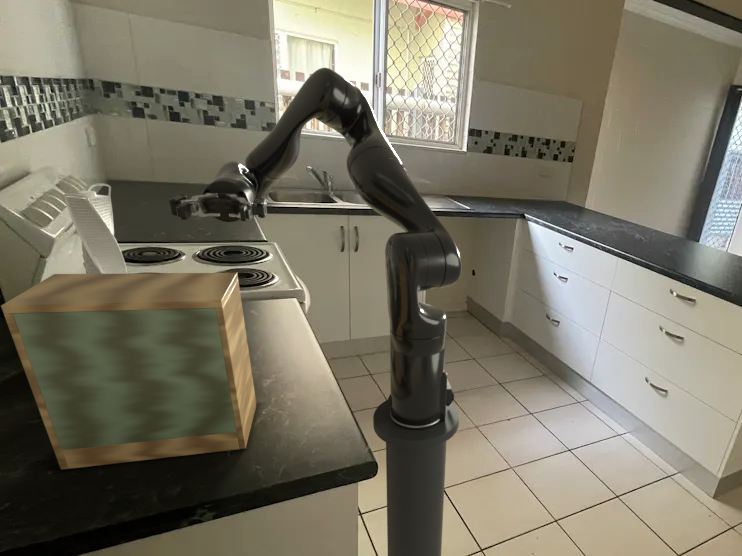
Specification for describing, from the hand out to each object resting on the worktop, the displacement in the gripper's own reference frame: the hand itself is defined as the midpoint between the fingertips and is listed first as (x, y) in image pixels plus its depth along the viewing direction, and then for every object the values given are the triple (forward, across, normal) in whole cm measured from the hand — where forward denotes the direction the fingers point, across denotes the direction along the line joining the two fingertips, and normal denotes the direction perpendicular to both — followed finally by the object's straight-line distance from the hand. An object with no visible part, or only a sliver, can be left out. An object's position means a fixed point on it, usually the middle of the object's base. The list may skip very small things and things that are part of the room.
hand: (213, 214), depth 77 cm
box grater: (-33, -29, +29) cm, 53 cm away
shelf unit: (+19, -6, +29) cm, 35 cm away
